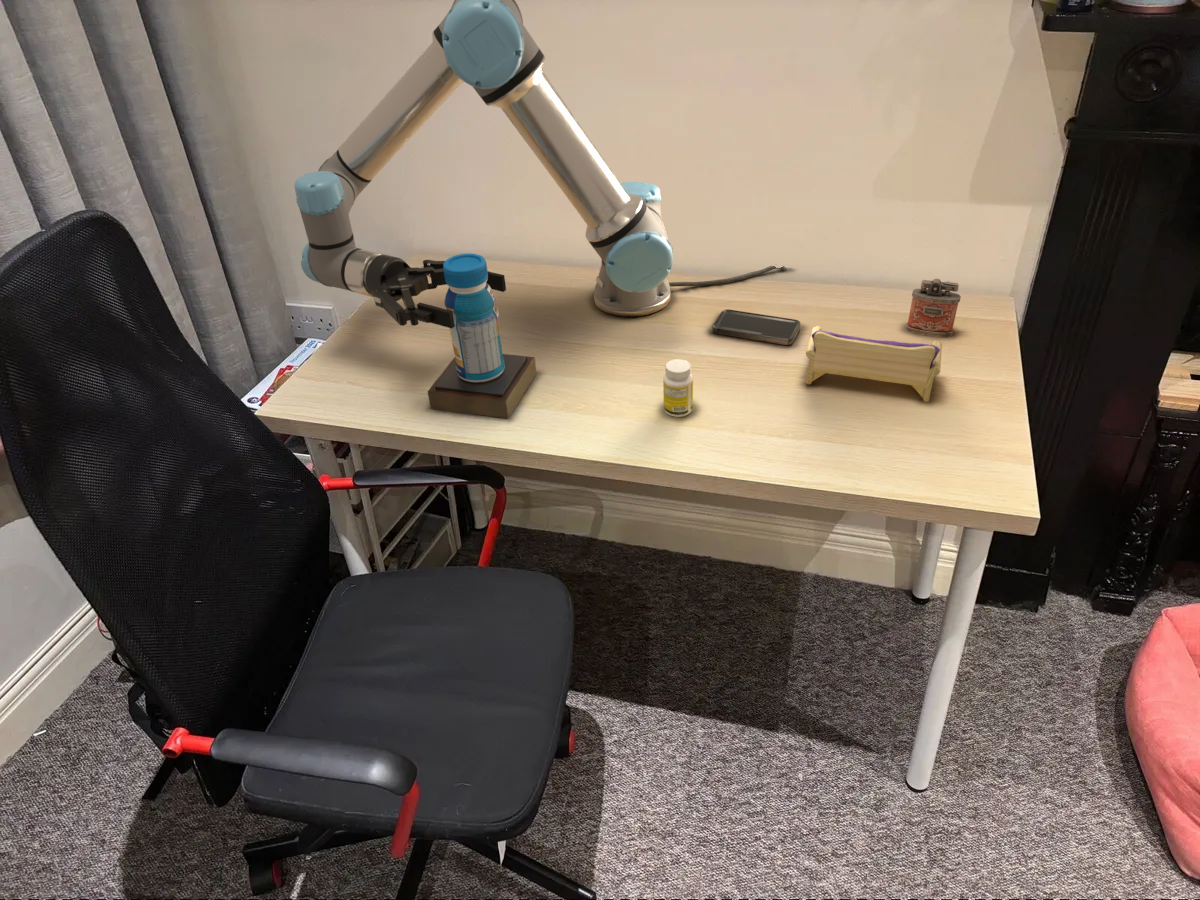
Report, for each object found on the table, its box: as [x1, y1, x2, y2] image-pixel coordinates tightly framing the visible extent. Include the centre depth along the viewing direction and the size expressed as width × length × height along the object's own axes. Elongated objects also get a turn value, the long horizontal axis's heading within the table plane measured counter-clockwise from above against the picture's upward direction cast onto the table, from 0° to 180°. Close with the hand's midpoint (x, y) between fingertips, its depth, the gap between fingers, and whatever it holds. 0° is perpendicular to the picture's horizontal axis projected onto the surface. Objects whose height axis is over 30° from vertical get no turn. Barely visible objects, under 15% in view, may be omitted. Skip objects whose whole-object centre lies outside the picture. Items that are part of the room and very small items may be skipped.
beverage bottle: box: [443, 253, 505, 383], centre depth 140 cm, size 8×8×20 cm
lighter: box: [905, 278, 962, 338], centre depth 153 cm, size 8×3×10 cm, turn 68°
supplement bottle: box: [662, 358, 694, 418], centre depth 138 cm, size 5×5×8 cm
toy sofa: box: [805, 326, 943, 403], centre depth 141 cm, size 21×9×10 cm, turn 71°
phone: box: [712, 308, 801, 346], centre depth 160 cm, size 8×1×15 cm
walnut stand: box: [427, 353, 537, 420], centre depth 147 cm, size 14×14×4 cm
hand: (479, 301), depth 137 cm, fingers open, 13 cm apart
